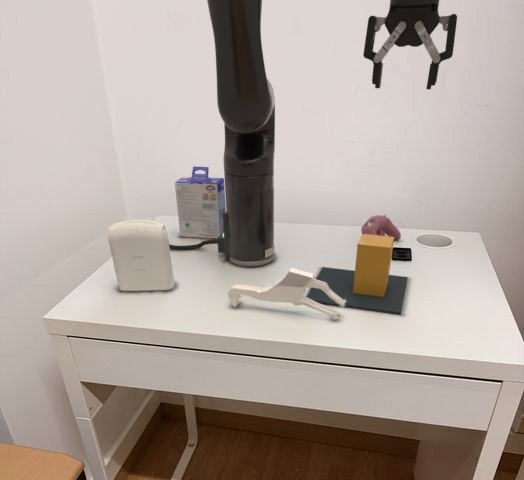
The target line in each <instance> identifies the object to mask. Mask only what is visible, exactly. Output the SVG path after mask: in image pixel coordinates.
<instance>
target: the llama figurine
mask: <svg viewBox="0 0 524 480" xmlns="http://www.w3.org/2000/svg"><path fill="white" fill-rule="evenodd" d="M316 278H317V276H316V275H315V273H313V272H308V271H305V270H301V269H297V268H294V267H290V268H289V270H288V271H287V273H286V274H285V276H283V277H281V278H280V279H279V280H278V281H276V282H274V283H273V284H272V285H270V286H268V287H264V288H261V287H259V286H253V285H244V284H234V285H232V286H231V287H230V288H229V290H228V291H227V295H228V299H229V300H230V303H231V306H232V307H234V308H237V306H238V305H239V301H240V299H241V298H242V296H245V297H250V298H253V299H255V300H258V301H263V302H270V303H286V304H292V305H294V306H305V307H308V308H310V309H313V310H316V311H318V312H320V313H323V314H325V315H328V316H330V317H332V320H333V321H334V320H337V319H339V316H338V315H340V312H339V311H338V310H335V309H333V308H331V307H330V306H329V307H328V306H326V305H325V304H321V303H317V302H315V301H313V300H311V299H310V298H308V297H307V296H304V295H305V292H306V290H307V288H312V287H313V288H318V289H321V290H323V291H324V292H325V293H326V294H327V295H328V296H329V297H330V298H331V299H332V300H334V301H335V302H336V303H338V304H339V305H340V306H338V307H339V308H340V307H341V309H343V308H345V307H344V306H345V305H344V304H345V302H346V301H347V300H345V299H344V300H343V299H342V298H340V297H339V296H338V295H337V294H335V293H334V292H333V291H332V290H331V289H330V288H329V287H328V285H327V283H326V282H323V281H319V280H316Z"/></svg>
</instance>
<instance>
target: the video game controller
mask: <svg viewBox="0 0 524 480" xmlns="http://www.w3.org/2000/svg"><path fill="white" fill-rule="evenodd" d="M360 230H361V235H362V234H369V235H379V236H390V237H394V241H398V240H401V238H402V234H401V232H400V230H399V228H397V226H396V225H395V224H394V223H393V222H392V221H391V219H390V217H388V216H387V215H386V214H383V215H382V214H376V215H373V216H371V217H369V218H368V219H367V220H366V222H365V223H364V224H363V225H362V226H361V229H360Z"/></svg>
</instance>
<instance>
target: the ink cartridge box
mask: <svg viewBox="0 0 524 480" xmlns="http://www.w3.org/2000/svg"><path fill="white" fill-rule="evenodd" d="M209 167H210V166H192V170H191V176H183V177H181V178H179V179H178V180H176V181H175V182H174V186H175V187H174V188H175V196H176V197H175V199H176V208H177V216H178V224H179V225H178V227H179V237H185V238H200V239H201V238H203V239H215V240H217V237H219V236H220V235H221V234H222V233H223V232H224V230H223V214H224V213H225V212H226V195H225V178H224V177H209V172H210V171H209V170H210V169H209ZM198 171H203V172H204V173H196V172H198Z"/></svg>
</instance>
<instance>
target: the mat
mask: <svg viewBox="0 0 524 480" xmlns="http://www.w3.org/2000/svg"><path fill="white" fill-rule="evenodd" d="M354 276H355V270H352V269H351V270H350V269H343V268H342V269H341V268H335V267H327V266H322V267H321V269H320V271H319V273H318V274H317V276H316V278H315V279H316V280H319V281H323V282H326V283H327V285H328V287H329V288H330V289H331V290H332V291H333V292H334V293H335V294H337V295H338V296H339V297H340V298H342V299H343V300H344V299H345V300H347V301H346V302H345V304H344V305H345V306H344V307H343V308H351V309H359V310H365V311H371V312H379V313H386V314H393V315H400V316H401V315H402V310H403V306H404V305H403V304H404V298H405V292H406V287H407V282H408V276H401V275H393V274H389V277H388V284H387V288H386V292H385V296H384V297H379V296H371V295H364V294H356V293H353V286H354ZM306 297H308V298H310V299H311V300H313V301H315V302H317V303H320V304H322V305H329V306H336V307H339V306H340V305H339V304H338V303H336V302H335V301H334V300H332V299H331V298H330V297H329V296H328V295H327V294H326V293H325V292H324V291H323V290H321V289H318V288H313V287H310V289H309V290H308V293H307V295H306ZM340 307H341V306H340Z"/></svg>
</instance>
